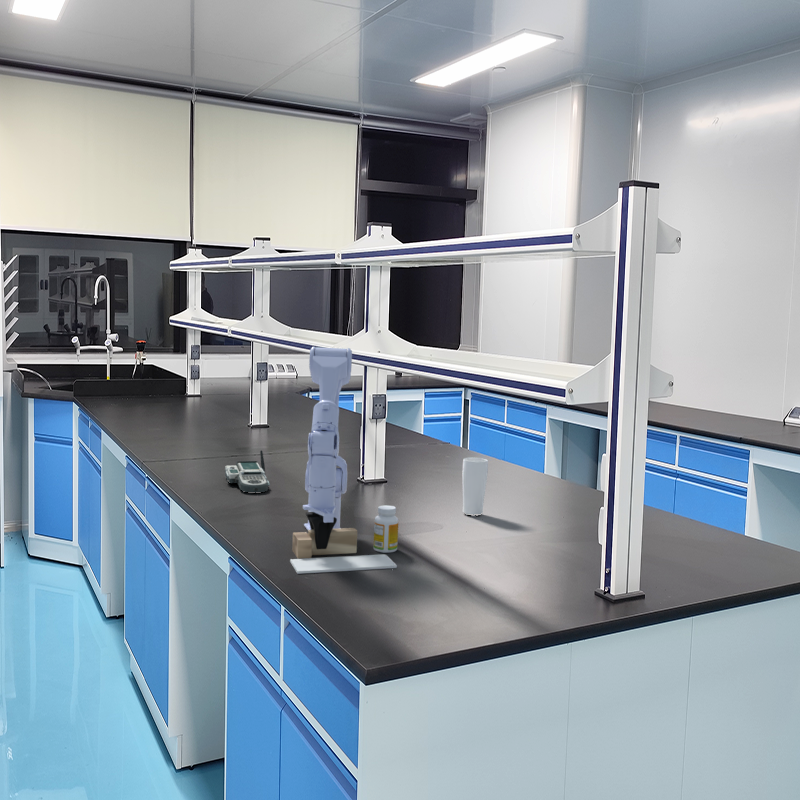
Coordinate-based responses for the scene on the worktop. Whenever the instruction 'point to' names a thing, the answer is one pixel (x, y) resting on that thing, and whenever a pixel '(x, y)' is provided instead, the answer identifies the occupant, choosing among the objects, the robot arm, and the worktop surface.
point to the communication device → (248, 475)
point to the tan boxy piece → (338, 544)
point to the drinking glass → (474, 484)
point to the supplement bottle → (386, 529)
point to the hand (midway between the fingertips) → (320, 546)
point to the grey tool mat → (342, 563)
